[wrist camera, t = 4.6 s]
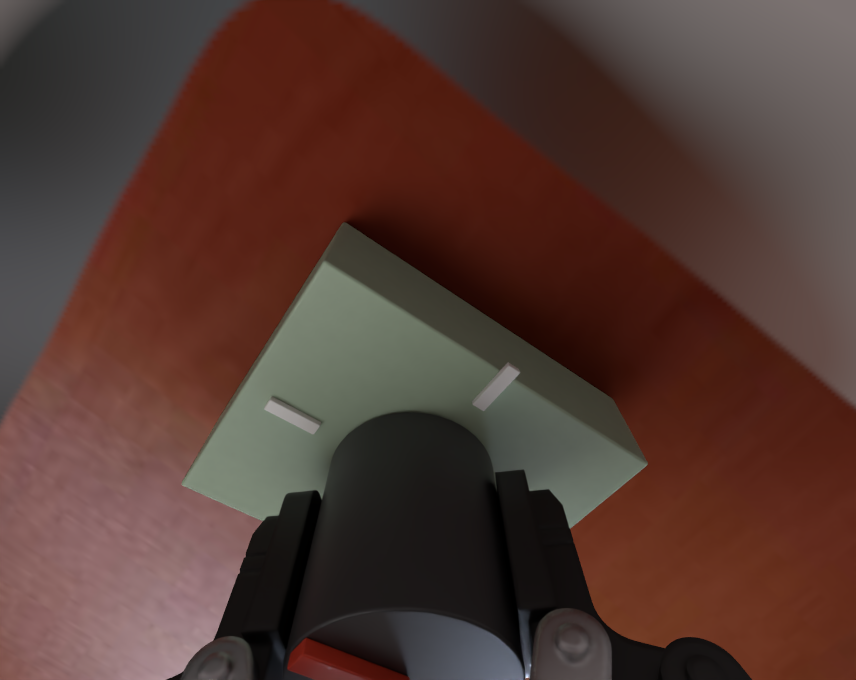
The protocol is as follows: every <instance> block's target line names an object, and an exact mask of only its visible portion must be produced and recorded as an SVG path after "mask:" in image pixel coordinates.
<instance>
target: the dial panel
mask: <svg viewBox="0 0 856 680" xmlns="http://www.w3.org/2000/svg"><path fill="white" fill-rule="evenodd" d="M403 412H419V413H427V414H432V415H437V416H441V417H443V418H446V419H449V420H452V421H454V422H456V423H458V424H460V425H461V426H463V427H464V428H466V429H467V430H469V431H470V432H471V433H472V434H474V435H475V436H476V437H477V438H478V439H479V441H480V442H481V443H482V444H483V445H484V447H485V449H486V450H487V452H488V454H489V456H490V459H491V462H492V466H493V472H494V478H495V472H503V471H513V470H523V469H524V471H525V474H526V478H527V482H528V487H529V491H535V490H545V489H549V490H550V491H551V492H552V493H553V494H554V496H555V497H556V498H557V499H558V500H559V501H560V502H561V504H562V505H563V508H564V511H565V514H566V518H567V521H568V525H569V528H571V527H572V526H574V525H575V524H576V523H577V522H579V521H580V520H581V519H582V518H583V517H585V516H586V515H587V514H588V513H590V512H591V511H592V510H593V509H594V508H596V507H597V506H598V505H599V504H600V503H602V502H603V501H604V500H605V499H607V498H608V497H609V496H610V495H611V494H613V493H614V492H615V491H616V490H618V489H619V488H620V487H621V486H622V485H624V484H625V483H626V482H627V481H628V480H630V479H631V478H632V477H633V476H635V475H636V474H637V473H638V472H639V471H641V470H642V469H643V468H644V467H645V466H647V464H648V463H647V461H646V459H645V457H644V455H643V453H642V452H641V450H640V448H639V446H638V444H637V442H636V440H635V439H634V437H633V435H632V433H631V431H630V429H629V428H628V426H627V424H626V422H625V420H624V418H623V417H622V415H621V413H620V411H619V409H618V407H617V406H616V404H615V402H614V400H613V399H612V398H611V397H609V396H608V395H606V394H604V393H603V392H601V391H600V390H598V389H597V388H595V387H594V386H592V385H591V384H589V383H588V382H586V381H585V380H583V379H582V378H580V377H579V376H577V375H576V374H574V373H573V372H571V371H570V370H568V369H567V368H565V367H564V366H562V365H561V364H559V363H558V362H556V361H555V360H553V359H551V358H550V357H548V356H547V355H545V354H544V353H542V352H541V351H539V350H538V349H536V348H535V347H533V346H532V345H530V344H529V343H527V342H526V341H524V340H523V339H521V338H520V337H518V336H517V335H515V334H514V333H512V332H511V331H509V330H508V329H506V328H505V327H503V326H502V325H500V324H498V323H497V322H495V321H494V320H492V319H491V318H489V317H488V316H486V315H485V314H483V313H482V312H480V311H479V310H477V309H476V308H474V307H473V306H471V305H470V304H468V303H467V302H465V301H464V300H462V299H461V298H459V297H458V296H456V295H455V294H453V293H452V292H450V291H449V290H447V289H446V288H444V287H442V286H441V285H439V284H438V283H436V282H435V281H433V280H432V279H430V278H429V277H427V276H426V275H424V274H423V273H421V272H420V271H418V270H417V269H415V268H414V267H412V266H411V265H409V264H408V263H406V262H405V261H403V260H402V259H400V258H399V257H397V256H396V255H394V254H393V253H391V252H389V251H388V250H386V249H385V248H383V247H382V246H380V245H379V244H377V243H376V242H374V241H373V240H371V239H370V238H368V237H367V236H365V235H364V234H362V233H361V232H359V231H358V230H356V229H355V228H353V227H352V226H350V225H349V224H347V223H342V225H341V226H340V228H339V229H338V231H337V233H336V234H335V236H334V237H333V239H332V240H331V242H330V244H329V245H328V247H327V248H326V250H325V252H324V253H323V255H322V256H321V258H320V259H319V261H318V263H317V264H316V266H315V267H314V269H313V270H312V272H311V274H310V275H309V277H308V278H307V280H306V282H305V283H304V285H303V286H302V288H301V289H300V291H299V293H298V294H297V296H296V297H295V299H294V300H293V302H292V304H291V305H290V307H289V308H288V310H287V311H286V313H285V315H284V316H283V318H282V319H281V321H280V323H279V324H278V326H277V327H276V329H275V330H274V332H273V334H272V335H271V337H270V338H269V340H268V341H267V343H266V345H265V346H264V348H263V349H262V351H261V352H260V354H259V356H258V357H257V359H256V360H255V362H254V364H253V365H252V367H251V368H250V370H249V371H248V373H247V375H246V376H245V378H244V379H243V381H242V382H241V384H240V386H239V387H238V389H237V390H236V392H235V394H234V395H233V397H232V398H231V400H230V401H229V403H228V405H227V406H226V408H225V409H224V411H223V412H222V414H221V416H220V417H219V419H218V421H217V422H216V424H215V426H214V427H213V429H212V431H211V433H210V434H209V436H208V438H207V440H206V441H205V443H204V445H203V446H202V448H201V450H200V452H199V453H198V455H197V457H196V459H195V460H194V462H193V464H192V465H191V467H190V469H189V471H188V472H187V474H186V476H185V478H184V479H183V481H182V485H183V486H185V487H187V488H189V489H192V490H194V491H196V492H198V493H201V494H203V495H205V496H207V497H210V498H212V499H214V500H216V501H219V502H221V503H223V504H225V505H228V506H230V507H232V508H234V509H237V510H239V511H241V512H243V513H246V514H248V515H250V516H252V517H255V518H257V519H259V520H261V521H264V520H265V518H266V517H267V516H277V515H279V512H280V509H281V506H282V503H283V500H284V497H285V495H286V494H287V493H292V492H302V491H312V490H317V491H318V492H319V494H320V496H321V499H322V498H323V493H324V489H325V485H326V481H327V477H328V473H329V468H330V464H331V460H332V457H333V455H334V452H335V450H336V448H337V447H338V445H339V444H340V443H341V441H342V440H343V439H344V438H345V437H346V436H347V435H348V434H349V433H350V432H352V431H353V430H354V429H355V428H357V427H358V426H360V425H362V424H363V423H365V422H368V421H370V420H372V419H374V418H378V417H381V416H384V415H389V414H394V413H403ZM495 484H496V479H495ZM496 491H497V490H496Z"/></svg>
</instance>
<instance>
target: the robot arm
mask: <svg viewBox="0 0 856 680" xmlns="http://www.w3.org/2000/svg"><path fill="white" fill-rule="evenodd" d="M495 479H496V490H497V497H498V503H499V510H500V516H501V522H502V529H503V535H504V541H505V547H506V554H507V560H508V566H509V572H510V579H511V585H512V591H513V598H514V604H515V610H516V616H517V623H518V629H519V635H520V641H521V647H522V654H523V660H524V666H525V677H530V678H529V680H752V679H751V678H750V677H749V675H748V674H747V673H746V672H745V670H744V669H743V668H742V667H741V666H740V664H739V663H738V662H737V661H736V660H735V659H734V658H733V657H732V656H731V655H730V654H729V653H728V652H727V651H725V650H724V649H722V648H721V647H719V646H718V645H716V644H714V643H712V642H710V641H707V640H704V639H700V638H695V637H685V638H680V639H677V640H675V641H673V642H671V643H670V644H669V645H668V646H667V647H666V648H661V647H657V646H653V645H649V644H645V643H641V642H637V641H634V640H631V639H628V638H626V637H623V636H621V635H620V634H618V633H616V632H615V631H613V630H612V629H611V628H610V627H608V626H607V625H606V624H605V623H604V622H603V621H602V619H601V618H600V617H599V615H598V614H597V612H596V610H595V609H594V606H593V603H592V600H591V597H590V594H589V591H588V587H587V584H586V581H585V577H584V574H583V571H582V567H581V564H580V561H579V557H578V554H577V551H576V548H575V544H574V542H573V538H572V534H571V531H570V528H569V525H568V521H567V518H566V514H565V511H564V508H563V505H562V504H561V502H560V501H559V500H558V499H557V498H556V497H555V496H554V494H553V493H552V492H551V491H550V490H549V489H545V490H535V491H529V487H528V482H527V478H526V474H525V471H524V469H523V470H513V471H503V472H495ZM321 502H322V499H321V496H320V494H319V492H318V491H317V490H312V491H302V492H292V493H287V494H286V495H285V497H284V500H283V503H282V506H281V509H280V512H279V515H277V516H267V517H266V518H265V520H264V521H263V522H262V523H261V525H260V526H259V527H258V528H257V530H256V531H255V532H254V533H253V535H252V538H251V541H250V543H249V546H248V549H247V552H246V558H244V560H243V562H242V565H241V568H240V574H238V576H237V579H236V582H235V584H234V587H233V590H232V593H231V595H230V598H229V601H228V604H227V606H226V609H225V612H224V614H223V617H222V620H221V623H220V625H219V628H218V631H217V634H216V636H215V638H214V640H213V641H212V642H210V643H208V644H207V645H205V646H204V647H203V648H201V649H200V650H199V651H198V652H197V653H196V654H195V655H194V656H193V658H192V659H191V660H190V661H189V663H188V664H187V666H186V668H185V670H184V672H182V673H180V674H178V675H176V676H174V677H172V678H169V679H167V680H283V677H282V665H283V661H284V657H285V653H286V648H287V644H288V640H289V636H290V632H291V627H292V623H293V619H294V615H295V611H296V606H297V602H298V598H299V594H300V590H301V586H302V581H303V577H304V573H305V569H306V565H307V560H308V556H309V552H310V548H311V544H312V540H313V535H314V531H315V527H316V523H317V519H318V514H319V510H320V506H321Z"/></svg>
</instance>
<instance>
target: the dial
mask: <svg viewBox="0 0 856 680" xmlns="http://www.w3.org/2000/svg"><path fill="white" fill-rule="evenodd" d="M282 677H283V680H525V666H524V660H523V654H522V647H521V641H520V635H519V629H518V623H517V616H516V610H515V604H514V598H513V591H512V585H511V579H510V572H509V566H508V560H507V554H506V547H505V541H504V535H503V529H502V522H501V516H500V510H499V503H498V497H497V491H496V484H495V478H494V472H493V466H492V462H491V459H490V456H489V454H488V452H487V450H486V449H485V447H484V445H483V444H482V443H481V442H480V441H479V439H478V438H477V437H476V436H475V435H474V434H472V433H471V432H470V431H469V430H467V429H466V428H464V427H463V426H461V425H460V424H458V423H456V422H454V421H452V420H449V419H446V418H443V417H441V416H437V415H432V414H427V413H419V412H403V413H394V414H389V415H384V416H381V417H378V418H374V419H372V420H370V421H368V422H365V423H363V424H362V425H360V426H358V427H357V428H355V429H354V430H353V431H352V432H350V433H349V434H348V435H347V436H346V437H345V438H344V439H343V440H342V441H341V443H340V444H339V445H338V447H337V448H336V450H335V452H334V455H333V457H332V460H331V464H330V468H329V473H328V477H327V481H326V485H325V489H324V493H323V498H322V502H321V506H320V510H319V514H318V519H317V523H316V527H315V531H314V535H313V540H312V544H311V548H310V552H309V556H308V560H307V565H306V569H305V573H304V577H303V581H302V586H301V590H300V594H299V598H298V602H297V606H296V611H295V615H294V619H293V623H292V627H291V632H290V636H289V640H288V644H287V648H286V653H285V657H284V661H283V665H282Z"/></svg>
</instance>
